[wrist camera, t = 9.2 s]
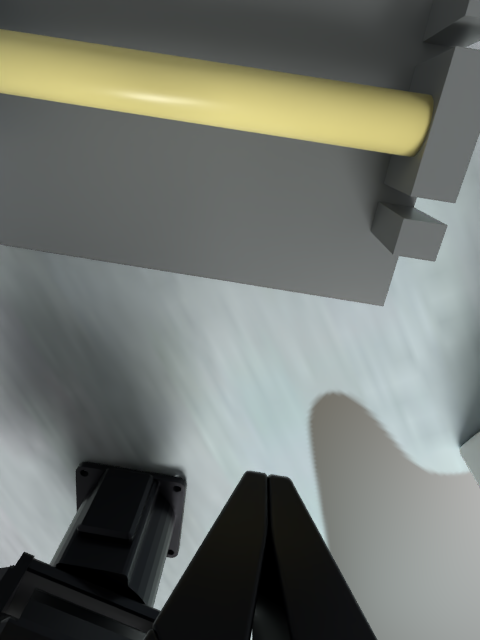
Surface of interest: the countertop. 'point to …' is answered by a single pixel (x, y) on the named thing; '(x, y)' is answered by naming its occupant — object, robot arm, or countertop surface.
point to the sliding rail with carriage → (237, 134)
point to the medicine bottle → (472, 456)
